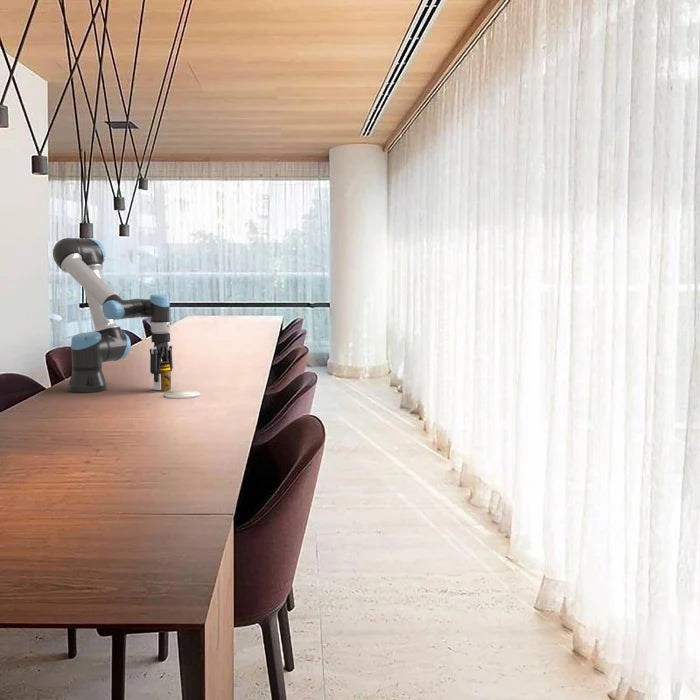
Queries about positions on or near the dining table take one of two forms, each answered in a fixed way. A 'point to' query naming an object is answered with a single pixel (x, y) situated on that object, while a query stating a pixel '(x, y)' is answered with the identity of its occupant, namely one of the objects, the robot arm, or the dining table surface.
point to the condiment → (164, 377)
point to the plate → (182, 394)
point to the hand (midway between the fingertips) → (162, 388)
